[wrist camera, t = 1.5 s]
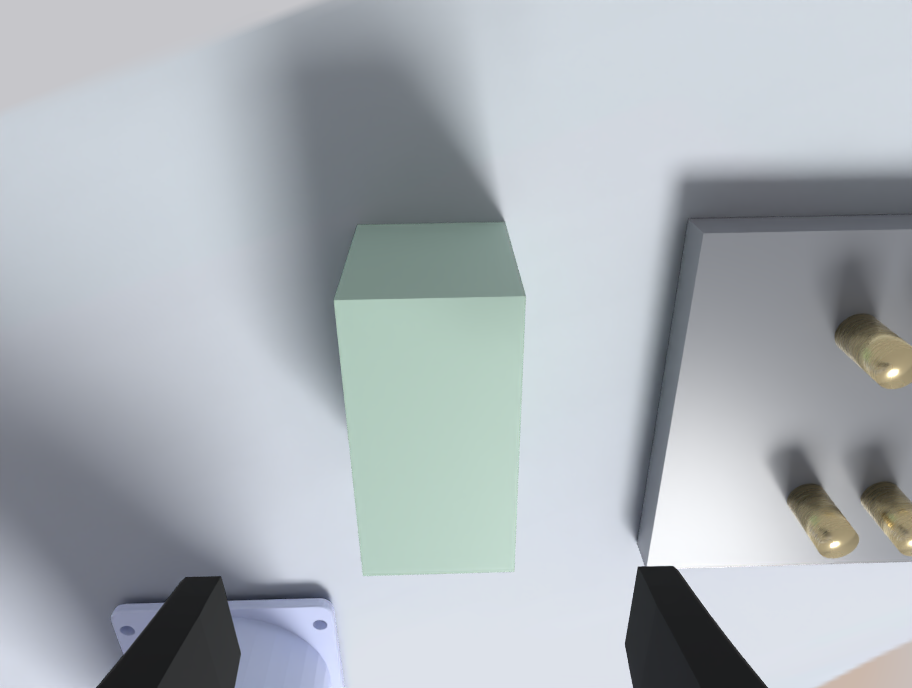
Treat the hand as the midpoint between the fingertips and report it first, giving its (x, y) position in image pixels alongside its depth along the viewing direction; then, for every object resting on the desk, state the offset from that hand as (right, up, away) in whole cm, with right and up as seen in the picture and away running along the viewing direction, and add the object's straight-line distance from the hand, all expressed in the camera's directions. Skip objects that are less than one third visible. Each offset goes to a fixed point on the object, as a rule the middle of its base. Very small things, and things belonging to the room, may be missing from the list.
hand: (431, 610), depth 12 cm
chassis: (+13, +3, +10) cm, 16 cm away
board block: (0, +5, +9) cm, 10 cm away
